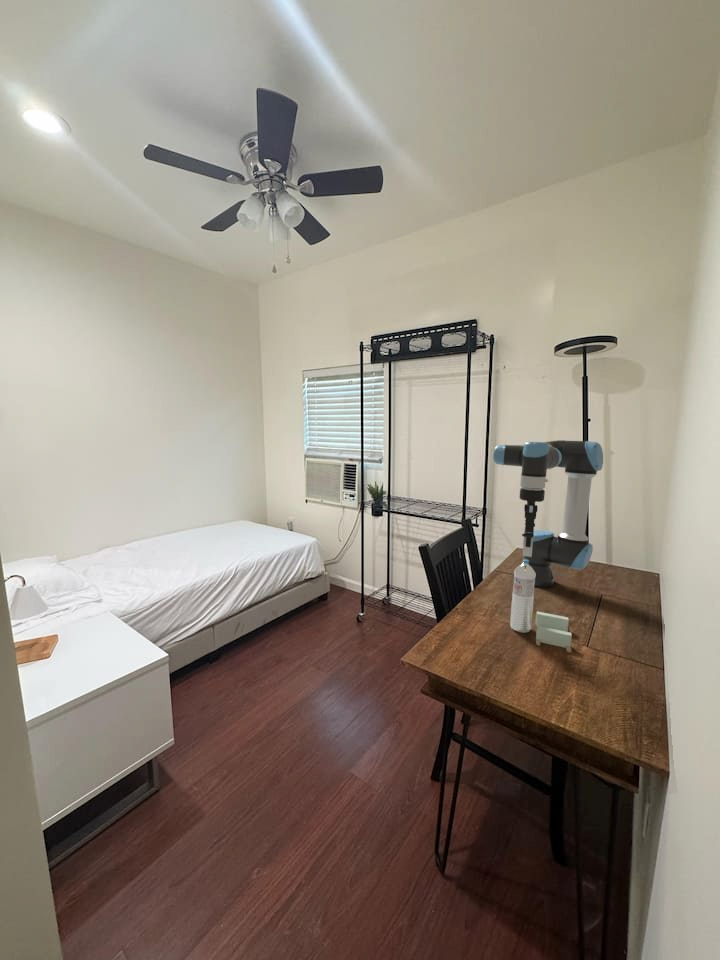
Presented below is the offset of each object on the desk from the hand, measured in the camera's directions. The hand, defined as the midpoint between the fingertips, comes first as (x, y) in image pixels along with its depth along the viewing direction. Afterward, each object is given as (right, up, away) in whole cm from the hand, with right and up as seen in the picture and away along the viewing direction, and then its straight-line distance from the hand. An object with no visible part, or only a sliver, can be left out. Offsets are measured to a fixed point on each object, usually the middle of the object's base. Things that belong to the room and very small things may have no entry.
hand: (527, 550), depth 130 cm
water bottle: (-1, -29, +4) cm, 29 cm away
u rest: (+8, -29, 0) cm, 30 cm away
